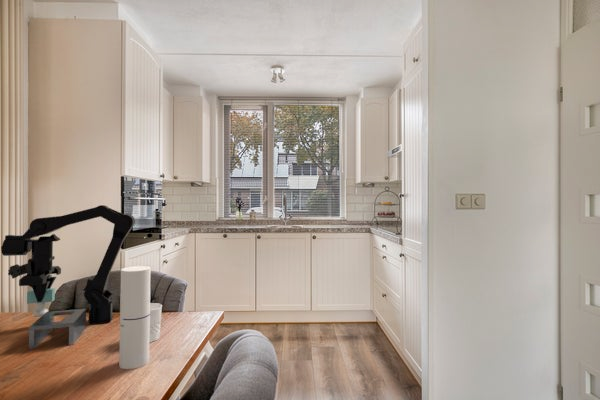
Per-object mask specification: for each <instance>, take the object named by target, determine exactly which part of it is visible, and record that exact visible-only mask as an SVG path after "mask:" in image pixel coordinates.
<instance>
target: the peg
mask: <svg viewBox="0 0 600 400" xmlns="http://www.w3.org/2000/svg"><path fill="white" fill-rule="evenodd" d="M55 289H56V288H52V287H51V288H50V289H47V290H46V292H45V295H44V297H43V300H42V301H41V302H37V299H36V296H35V294H34V291H33V289H29V290H28V291H27V292H26V304H28V305H29V304H36V309H35V310H33V314H32V316H33V317H34V318H40V317H42V316H43V315H44V314H45V313H46V312H49V309H48V308H46V303H53V301H55V298H56V297H55V296H56V293H55V291H56V290H55Z"/></svg>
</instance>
